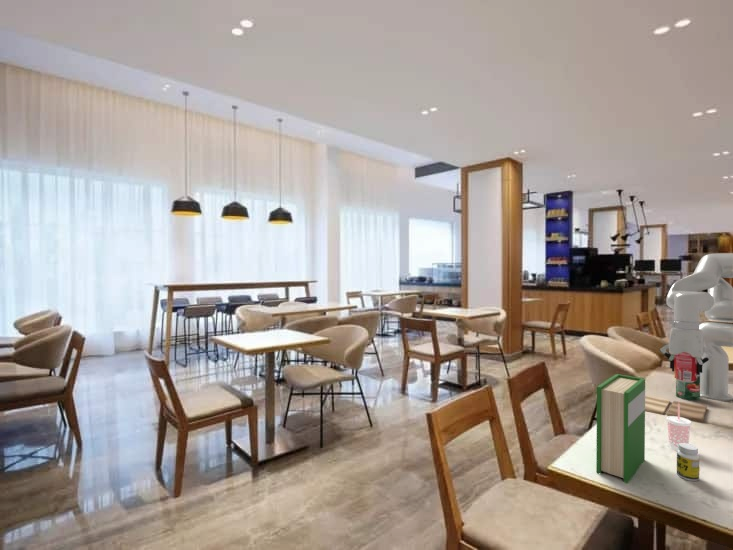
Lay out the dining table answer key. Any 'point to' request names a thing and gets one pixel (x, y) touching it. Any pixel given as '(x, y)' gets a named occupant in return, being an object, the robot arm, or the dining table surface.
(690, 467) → the supplement bottle
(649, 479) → the dining table surface
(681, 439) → the beverage cup
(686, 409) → the plank
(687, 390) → the canned tomato
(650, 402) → the flat tan panel
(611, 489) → the dining table surface
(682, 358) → the soda can
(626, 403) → the hardback book
